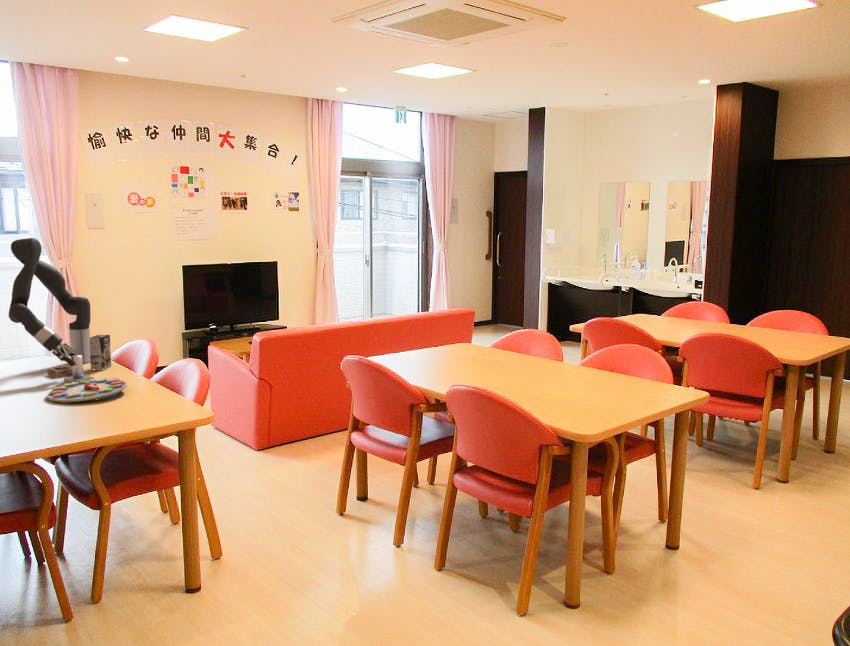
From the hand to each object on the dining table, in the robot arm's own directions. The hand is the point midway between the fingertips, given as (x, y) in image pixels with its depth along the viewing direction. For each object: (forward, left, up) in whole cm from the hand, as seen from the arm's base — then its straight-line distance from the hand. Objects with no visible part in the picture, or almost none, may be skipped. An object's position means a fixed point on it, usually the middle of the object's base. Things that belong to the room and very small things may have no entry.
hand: (76, 363), depth 327 cm
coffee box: (-19, -16, -8) cm, 26 cm away
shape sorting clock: (+11, +30, -8) cm, 33 cm away
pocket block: (0, -16, -8) cm, 18 cm away
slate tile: (0, 0, -8) cm, 8 cm away
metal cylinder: (0, 0, -7) cm, 7 cm away
